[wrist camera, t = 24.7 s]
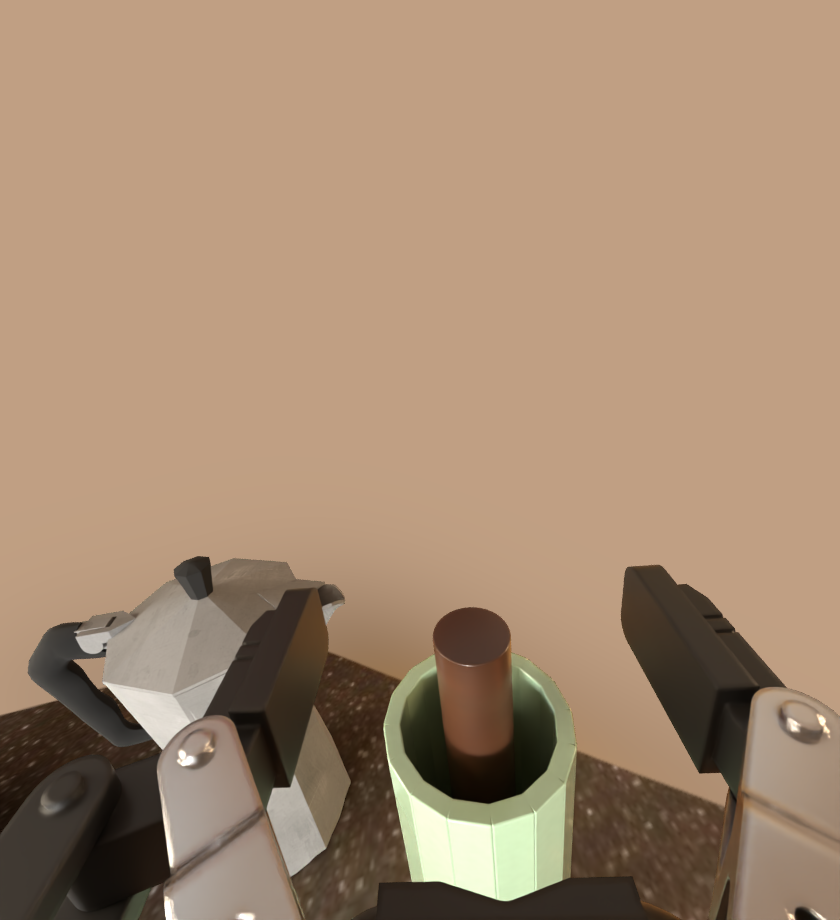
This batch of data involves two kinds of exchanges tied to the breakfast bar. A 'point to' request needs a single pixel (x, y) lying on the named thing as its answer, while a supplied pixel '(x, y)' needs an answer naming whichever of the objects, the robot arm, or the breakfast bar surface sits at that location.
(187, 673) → the coffeepot
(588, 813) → the breakfast bar surface
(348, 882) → the breakfast bar surface
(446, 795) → the vase
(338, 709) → the breakfast bar surface
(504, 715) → the bottle brush
